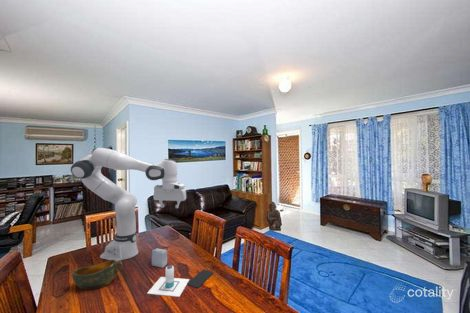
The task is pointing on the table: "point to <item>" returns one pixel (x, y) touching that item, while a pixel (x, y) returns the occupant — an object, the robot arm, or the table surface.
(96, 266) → the green oval bowl
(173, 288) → the paper
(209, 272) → the phone
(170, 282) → the marker
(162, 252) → the medicine box
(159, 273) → the table surface
